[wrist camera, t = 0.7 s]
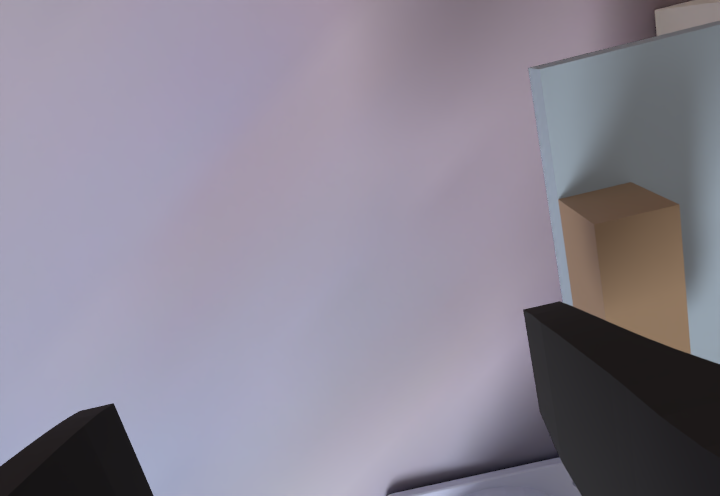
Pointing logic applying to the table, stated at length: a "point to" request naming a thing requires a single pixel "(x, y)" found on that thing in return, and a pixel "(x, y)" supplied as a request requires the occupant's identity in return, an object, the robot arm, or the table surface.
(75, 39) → the table surface
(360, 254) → the table surface
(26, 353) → the table surface
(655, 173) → the lid
